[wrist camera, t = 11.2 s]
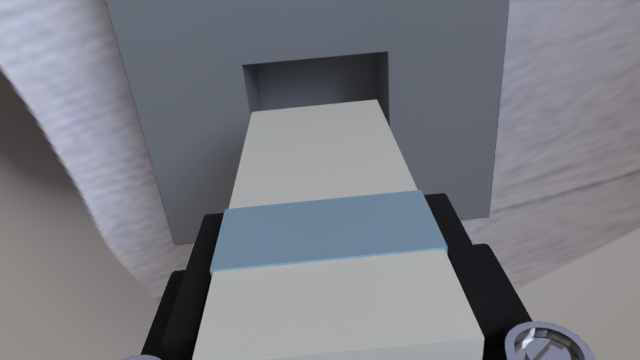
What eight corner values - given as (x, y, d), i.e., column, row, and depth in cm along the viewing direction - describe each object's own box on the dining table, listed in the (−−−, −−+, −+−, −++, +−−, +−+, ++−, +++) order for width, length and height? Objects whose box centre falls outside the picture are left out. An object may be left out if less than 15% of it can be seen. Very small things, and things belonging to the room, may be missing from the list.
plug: (378, 97, 15) (511, 384, 6) (382, 207, 17) (486, 558, 8) (250, 110, 15) (172, 417, 6) (268, 218, 17) (232, 581, 8)
